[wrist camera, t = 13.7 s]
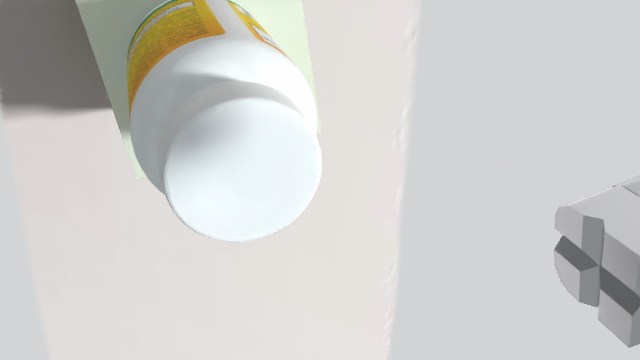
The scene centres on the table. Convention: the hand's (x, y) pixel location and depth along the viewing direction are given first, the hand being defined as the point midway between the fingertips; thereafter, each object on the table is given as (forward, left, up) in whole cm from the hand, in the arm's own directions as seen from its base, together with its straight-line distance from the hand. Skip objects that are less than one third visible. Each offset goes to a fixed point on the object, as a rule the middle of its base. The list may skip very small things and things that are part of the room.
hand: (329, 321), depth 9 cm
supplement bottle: (0, 0, -16) cm, 16 cm away
